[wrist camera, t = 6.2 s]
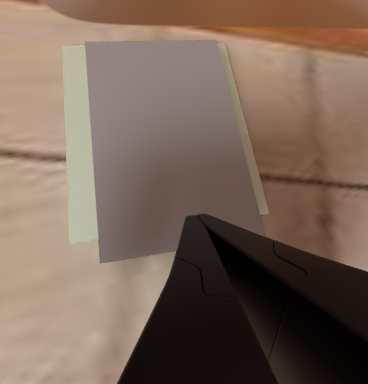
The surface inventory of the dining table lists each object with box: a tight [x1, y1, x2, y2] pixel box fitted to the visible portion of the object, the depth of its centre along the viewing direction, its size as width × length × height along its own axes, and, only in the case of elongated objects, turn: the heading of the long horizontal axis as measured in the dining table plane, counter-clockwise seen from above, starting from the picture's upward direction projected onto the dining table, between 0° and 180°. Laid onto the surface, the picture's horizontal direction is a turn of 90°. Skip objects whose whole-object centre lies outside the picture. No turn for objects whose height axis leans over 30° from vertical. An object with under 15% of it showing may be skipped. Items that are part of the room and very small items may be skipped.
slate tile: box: [85, 40, 265, 263], centre depth 15 cm, size 3×9×14 cm
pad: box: [62, 43, 269, 244], centre depth 18 cm, size 16×14×1 cm
